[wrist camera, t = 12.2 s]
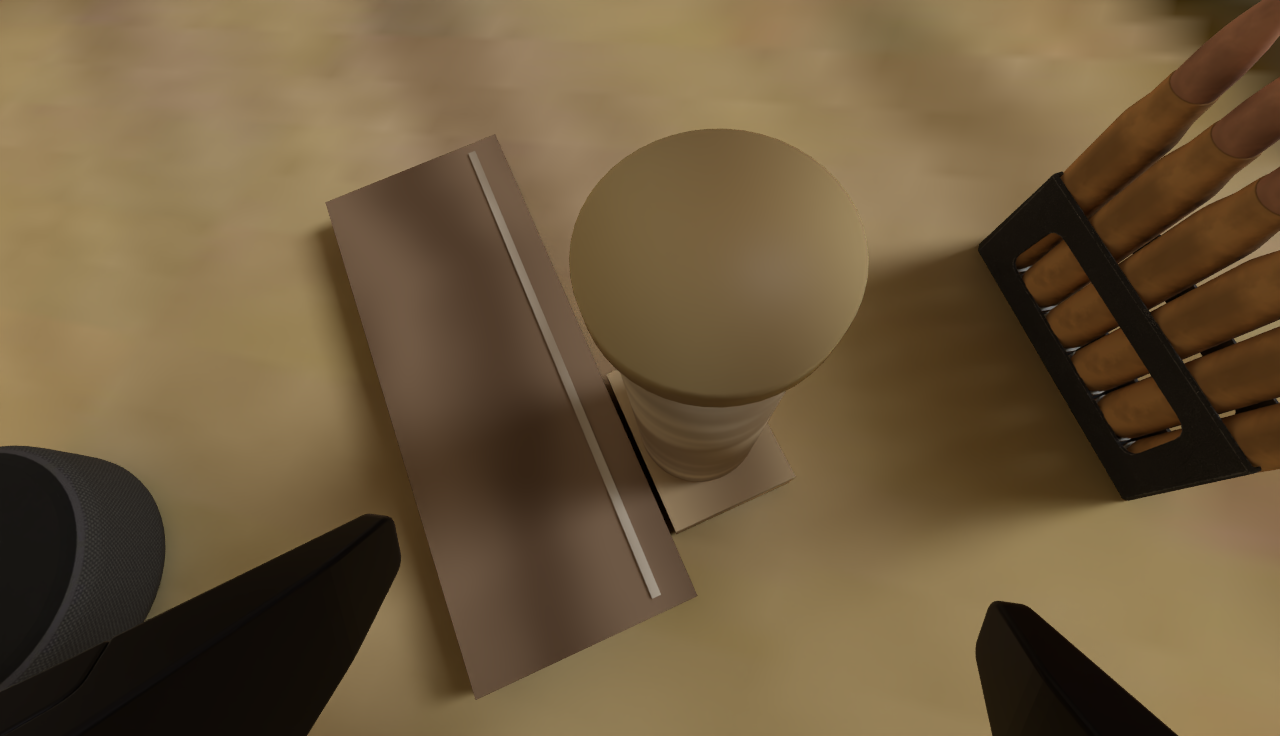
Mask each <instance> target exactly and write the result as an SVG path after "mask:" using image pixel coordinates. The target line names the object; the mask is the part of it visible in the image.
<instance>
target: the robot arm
mask: <svg viewBox="0 0 1280 736" xmlns="http://www.w3.org/2000/svg"><path fill="white" fill-rule="evenodd" d="M400 562H401V553H400V548H399V543H398V538H397V533H396V528H395V524H394V521H393V520H392V519H391V518H390V517H388V516H383V515H376V514H365V515H362V516H360V517H358V518H356V519H354V520H352V521H350V522H348V523H346V524H344V525H342V526H340V527H338V528H336V529H334V530H332V531H329V532H327V533H325V534H323V535H321V536H319V537H317V538H315V539H313V540H311V541H309V542H307V543H305V544H303V545H301V546H299V547H297V548H295V549H293V550H291V551H289V552H286V553H284V554H282V555H280V556H278V557H276V558H274V559H272V560H270V561H268V562H266V563H264V564H262V565H260V566H258V567H256V568H254V569H252V570H250V571H248V572H246V573H243V574H241V575H239V576H237V577H235V578H233V579H231V580H229V581H227V582H225V583H223V584H221V585H219V586H217V587H215V588H213V589H211V590H209V591H207V592H205V593H203V594H201V595H198V596H196V597H194V598H192V599H190V600H188V601H186V602H184V603H182V604H180V605H178V606H176V607H174V608H172V609H170V610H168V611H166V612H164V613H162V614H160V615H158V616H155V617H153V618H151V619H149V620H147V621H145V622H143V623H141V624H139V625H137V626H135V627H133V628H131V629H129V630H127V631H125V632H123V633H121V634H119V635H117V636H115V637H113V638H112V639H111V640H110V642H108V641H104V642H102V643H100V644H98V645H96V646H94V647H92V648H90V649H88V650H86V651H84V652H82V653H80V654H78V655H76V656H74V657H71V658H69V659H67V660H65V661H63V662H61V663H59V664H57V665H55V666H52V667H50V668H48V669H46V670H44V671H42V672H40V673H38V674H36V675H34V676H31V677H29V678H27V679H25V680H23V681H21V682H19V683H16V684H14V685H12V686H10V687H7V688H5V689H3V690H1V691H0V736H307V735H308V733H309V731H310V730H311V728H312V727H313V725H314V723H315V722H316V720H317V719H318V717H319V715H320V714H321V712H322V711H323V709H324V707H325V706H326V704H327V702H328V701H329V699H330V698H331V696H332V694H333V693H334V691H335V690H336V688H337V686H338V685H339V683H340V681H341V680H342V678H343V677H344V675H345V673H346V672H347V670H348V668H349V667H350V665H351V663H352V662H353V660H354V658H355V656H356V654H357V653H358V651H359V649H360V647H361V645H362V643H363V641H364V639H365V637H366V635H367V633H368V631H369V629H370V627H371V625H372V623H373V621H374V619H375V617H376V615H377V613H378V611H379V609H380V607H381V605H382V603H383V601H384V599H385V597H386V595H387V593H388V591H389V589H390V587H391V584H392V582H393V580H394V578H395V576H396V574H397V572H398V570H399V567H400ZM976 662H977V666H978V671H979V676H980V680H981V685H982V690H983V694H984V699H985V704H986V708H987V713H988V718H989V722H990V727H991V731H992V736H1178V735H1177V734H1176V733H1175V732H1173V731H1172V730H1171V729H1170V728H1169V727H1168V726H1166V725H1165V724H1164V723H1163V722H1162V721H1161V720H1159V719H1158V718H1157V717H1156V716H1155V715H1154V714H1153V713H1151V712H1150V711H1149V710H1148V709H1147V708H1146V707H1144V706H1143V705H1142V704H1141V703H1140V702H1139V701H1137V700H1136V699H1135V698H1134V697H1133V696H1132V695H1131V694H1129V693H1128V692H1127V691H1126V690H1125V689H1124V688H1122V687H1121V686H1120V685H1119V684H1118V683H1117V682H1115V681H1114V680H1113V679H1112V678H1111V677H1110V676H1109V675H1107V674H1106V673H1105V672H1104V671H1103V670H1102V669H1100V668H1099V667H1098V666H1097V665H1096V664H1095V663H1093V662H1092V661H1091V660H1090V659H1089V658H1088V657H1087V656H1085V655H1084V654H1083V653H1082V652H1081V651H1080V650H1078V649H1077V648H1076V647H1075V646H1074V645H1073V644H1071V643H1070V642H1069V641H1068V640H1067V639H1066V638H1065V637H1063V636H1062V635H1061V634H1060V633H1059V632H1058V631H1056V630H1055V629H1054V628H1053V627H1052V626H1051V625H1049V624H1048V623H1047V622H1046V621H1045V620H1044V619H1043V618H1041V617H1040V616H1039V615H1038V614H1037V613H1036V612H1034V611H1033V610H1032V609H1031V608H1029V607H1028V606H1026V605H1023V604H1018V603H1011V602H1003V601H994V602H992V603H991V604H990V606H989V608H988V610H987V613H986V616H985V619H984V622H983V624H982V627H981V630H980V633H979V636H978V639H977V642H976Z"/></svg>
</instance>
